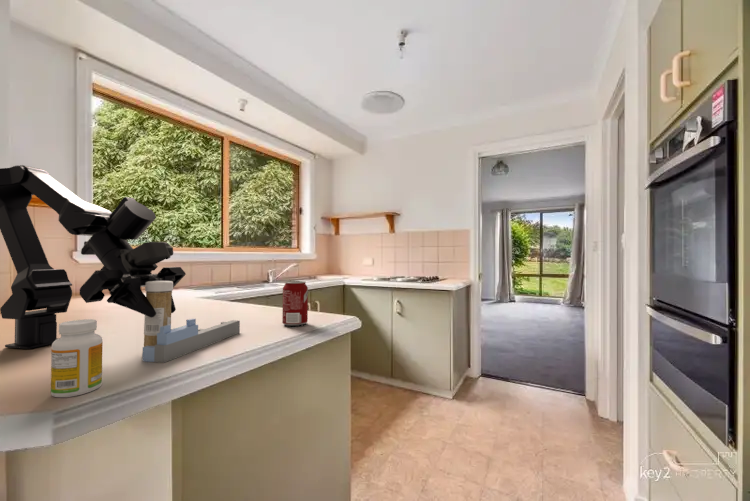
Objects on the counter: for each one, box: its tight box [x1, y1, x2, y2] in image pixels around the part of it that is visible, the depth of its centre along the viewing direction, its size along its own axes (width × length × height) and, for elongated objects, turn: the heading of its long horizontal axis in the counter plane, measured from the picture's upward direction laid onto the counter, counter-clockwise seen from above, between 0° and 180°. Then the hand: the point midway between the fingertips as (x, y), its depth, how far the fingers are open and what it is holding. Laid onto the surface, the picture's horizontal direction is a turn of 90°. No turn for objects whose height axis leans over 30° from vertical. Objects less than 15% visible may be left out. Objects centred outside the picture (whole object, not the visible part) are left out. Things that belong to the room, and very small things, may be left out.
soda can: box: [281, 280, 309, 327], centre depth 91 cm, size 7×7×12 cm
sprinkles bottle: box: [143, 281, 174, 347], centre depth 64 cm, size 5×5×14 cm
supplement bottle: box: [50, 318, 103, 398], centre depth 46 cm, size 5×5×10 cm
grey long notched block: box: [141, 318, 241, 364], centre depth 70 cm, size 4×23×6 cm, turn 170°
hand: (164, 313), depth 64 cm, fingers closed on sprinkles bottle, 4 cm apart
